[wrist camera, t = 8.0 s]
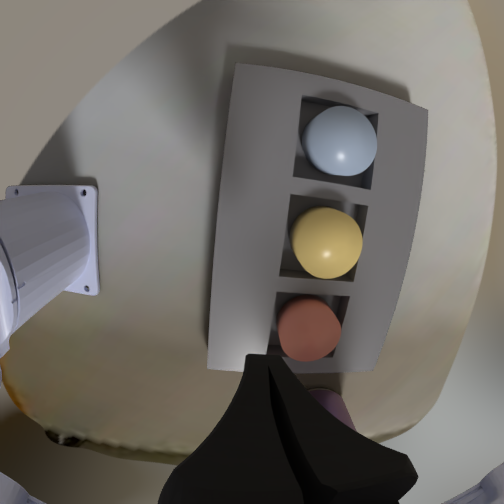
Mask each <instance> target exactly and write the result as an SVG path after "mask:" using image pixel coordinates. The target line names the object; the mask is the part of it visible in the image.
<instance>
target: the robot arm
mask: <svg viewBox="0 0 504 504" xmlns="http://www.w3.org/2000/svg"><path fill="white" fill-rule="evenodd" d="M84 189H85V190H86V196H84V194H83V190H84ZM17 190H18V193H17ZM97 195H98V192H97V188H96V187H95V186H93V185H18V186H8V187H7V189H6V199H5V200H0V358H1V357H2V356H3V355H4V354H5V353H6V352H7V351H8V350H9V349H10V348H9V338H10V336H11V334H12V333H14V332H15V331H16V330H17V329H18V328H19V327H20V326H21V325H23V324H24V323H25V322H26V321H27V320H28V319H29V318H31V317H32V316H33V315H34V314H35V313H36V312H38V311H39V310H40V309H41V308H42V307H43V306H45V305H46V304H47V303H48V302H49V301H51V300H52V299H53V298H54V297H56V296H57V295H58V294H59V293H60V292H62V291H63V290H65V291H70V292H76V293H81V294H87V295H93V296H95V295H97V294H98V293H99V291H100V284H99V270H98V250H97ZM86 285H87V286H88V287H89V289H90V290H88V289H87V288H86ZM1 381H2V372H1V367H0V387H1ZM417 479H418V475H417V472H416V470H415V468H414V467H413V465H412V463H411V461H410V459H409V458H408V456H407V455H406V454H403V453H400V452H397V451H395V450H392V449H390V448H387V447H385V446H382V445H380V444H378V443H376V442H374V441H372V440H370V439H368V438H366V437H365V436H363V435H361V434H359V433H358V432H356V431H355V430H353V429H352V428H350V427H348V426H347V425H345V424H344V423H343V422H341V421H340V420H339V419H337V418H336V417H335V416H334V415H332V414H331V413H330V412H329V411H328V410H326V409H325V408H324V407H323V406H322V405H321V404H320V403H319V402H318V401H317V400H316V399H315V398H314V397H313V396H312V395H311V394H310V393H309V392H308V390H307V389H306V388H305V387H304V386H303V385H302V383H301V382H300V381H299V380H298V378H297V377H296V376H295V375H294V373H293V372H292V371H291V369H290V368H289V367H288V365H287V364H286V362H285V361H284V359H283V358H282V357H281V356H280V355H268V354H247V355H246V356H245V364H244V371H243V376H242V379H241V381H240V384H239V387H238V389H237V391H236V393H235V395H234V397H233V399H232V401H231V403H230V405H229V407H228V409H227V410H226V412H225V414H224V415H223V417H222V418H221V420H220V421H219V422H218V424H217V425H216V427H215V428H214V429H213V431H212V432H211V433H210V434H209V436H208V437H207V438H206V439H205V440H204V441H203V442H202V443H201V444H200V446H199V447H198V448H197V449H196V450H195V451H194V452H193V453H192V454H191V455H190V456H189V457H187V458H186V459H185V460H184V461H183V462H182V463H180V464H179V465H178V466H177V467H176V468H175V469H174V470H173V472H172V473H171V475H170V476H169V478H168V480H167V482H166V483H165V485H164V487H163V489H162V491H161V494H160V497H159V500H158V504H399V502H398V500H399V499H401V498H402V497H403V496H404V495H405V494H406V493H407V492H408V491H409V490H410V489H411V488H412V487H413V486H414V485H415V483H416V481H417ZM0 504H46V503H44V502H42V501H40V500H38V499H36V498H34V497H32V496H30V495H29V494H28V493H27V491H26V490H25V489H24V488H23V487H22V486H20V485H19V484H18V483H16V482H15V481H14V480H12V479H10V478H9V477H7V476H6V475H4V474H3V473H1V472H0ZM442 504H504V463H502V464H501V465H499V466H498V467H496V468H495V469H493V470H492V471H491V472H490V473H488V474H487V475H486V476H485V477H484V478H483V479H482V480H481V481H480V483H478V484H477V485H475V486H473V487H472V488H470V489H468V490H466V491H465V492H463V493H461V494H459V495H457V496H456V497H454V498H452V499H450V500H448V501H446V502H444V503H442Z"/></svg>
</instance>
